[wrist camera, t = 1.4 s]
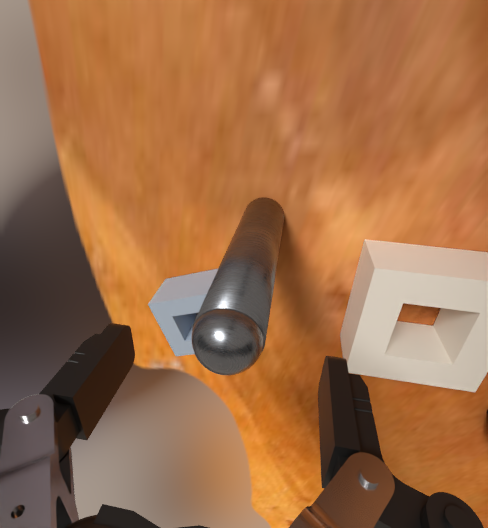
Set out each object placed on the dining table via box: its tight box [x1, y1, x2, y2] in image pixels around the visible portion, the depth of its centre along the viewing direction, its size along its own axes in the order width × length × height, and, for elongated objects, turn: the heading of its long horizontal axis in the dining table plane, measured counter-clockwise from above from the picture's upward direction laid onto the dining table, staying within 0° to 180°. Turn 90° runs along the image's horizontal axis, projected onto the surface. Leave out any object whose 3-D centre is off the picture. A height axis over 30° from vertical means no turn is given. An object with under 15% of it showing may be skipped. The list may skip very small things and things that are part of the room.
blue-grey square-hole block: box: [148, 269, 218, 356], centre depth 29 cm, size 6×6×4 cm
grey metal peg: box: [192, 198, 284, 375], centre depth 19 cm, size 3×3×16 cm
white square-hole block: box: [340, 239, 488, 392], centre depth 25 cm, size 10×10×4 cm
